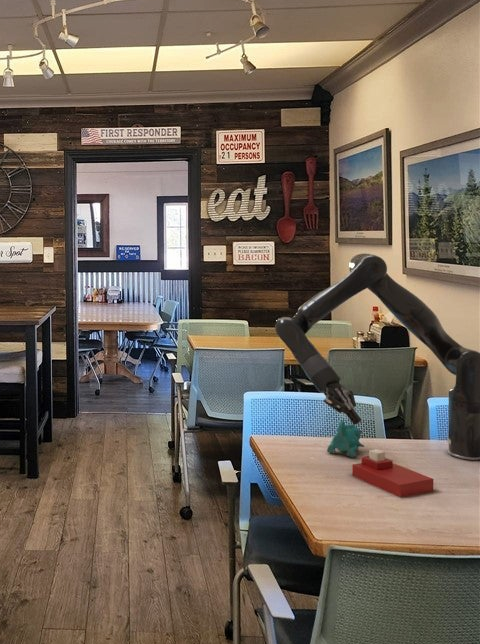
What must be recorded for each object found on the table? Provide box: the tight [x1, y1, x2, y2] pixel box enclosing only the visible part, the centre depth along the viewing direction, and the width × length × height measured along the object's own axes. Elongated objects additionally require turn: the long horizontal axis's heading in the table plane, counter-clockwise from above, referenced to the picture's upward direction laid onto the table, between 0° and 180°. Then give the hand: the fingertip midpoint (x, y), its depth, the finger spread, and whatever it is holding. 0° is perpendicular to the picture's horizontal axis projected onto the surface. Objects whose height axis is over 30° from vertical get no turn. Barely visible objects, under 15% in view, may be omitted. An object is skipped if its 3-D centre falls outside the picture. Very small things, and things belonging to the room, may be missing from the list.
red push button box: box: [351, 455, 434, 498], centre depth 167 cm, size 12×16×5 cm
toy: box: [326, 420, 365, 459], centre depth 193 cm, size 10×12×15 cm
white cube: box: [368, 448, 386, 462], centre depth 171 cm, size 3×3×3 cm
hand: (358, 422), depth 176 cm, fingers closed
